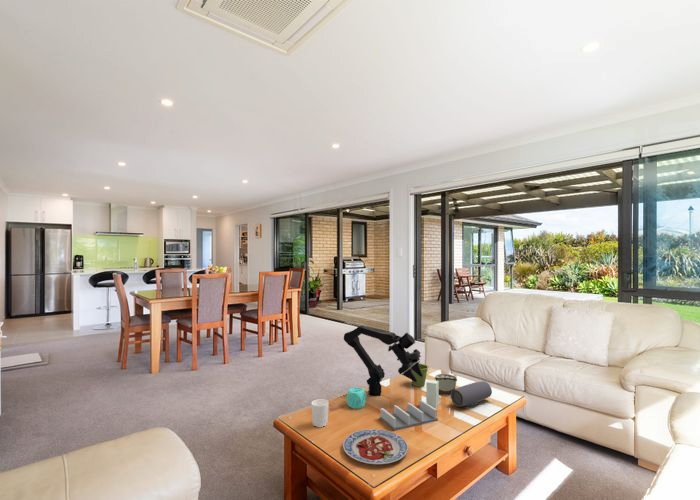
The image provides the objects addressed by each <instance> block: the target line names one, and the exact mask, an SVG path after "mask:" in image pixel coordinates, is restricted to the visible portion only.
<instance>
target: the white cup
mask: <svg viewBox="0 0 700 500" xmlns="http://www.w3.org/2000/svg"><path fill="white" fill-rule="evenodd" d="M329 404H330V403H329V400H327V399H323V398H319V399H318V398H317V399H314V400H312V401H311V419H312V420H311V422H312V426H313V425H315V426H318V427H322V428H324V427H323V426H325V427H327V426H328V421H329V419H328V418H329ZM326 425H327V426H326Z"/></svg>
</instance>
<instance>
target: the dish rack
mask: <svg viewBox="0 0 700 500" xmlns="http://www.w3.org/2000/svg"><path fill="white" fill-rule="evenodd" d="M406 405H407V406H406V410H403V409H402V408H400V407H399V406H398V405H395V404H394V405H393V406H394V407H393V411H394V413H390V412H389V411H387V410H386V409H385V408H384V407H381V408H380V415H379V419H380V420H381V421H382V422H383V424H385V425H386V426H388V427H389V428H390V429H392V431H394V432H395V431H398V430H399V431H400V430H403V429H407V428H412V427H416V426H420V425H426V424H429V423H434V422H437V421H439V419H438V417H437V415H438V413H437V412H438V411H437V409H438V408H437V409H435V408H433V407H432V406H430V405H429V404H427V403H426V401H424V400H422V399H420V400H419V407H416V406H415V405H414V404H412V403H410V402H407V404H406Z"/></svg>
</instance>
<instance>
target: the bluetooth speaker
mask: <svg viewBox="0 0 700 500" xmlns="http://www.w3.org/2000/svg"><path fill="white" fill-rule="evenodd" d="M492 393H493V390H492V387H491V384H490V383H488V382H487V381H485V380H484V381H477V382H472V383H469V384H465V385H462V386H459V387H457V388H456V387H455V389H454V390H453V391H452V392H451V396H450V399H451V402H452V403H453V405H455V406H457V407H471V406H474V405H477V404H479V403H480V402H482V401H483V400H486V399H488V398H490V397H491V396H492Z"/></svg>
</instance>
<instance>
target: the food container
mask: <svg viewBox="0 0 700 500" xmlns="http://www.w3.org/2000/svg"><path fill="white" fill-rule="evenodd" d="M434 380H435V381H439V396H450V397H451V392H452V391H453V390H454V389H456V386H457V385H456V384H457V382H458V379H457V377H456V376H455V375H453V374H449V373H448V374H447V373H439V374H436V375H435V377H434Z"/></svg>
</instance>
